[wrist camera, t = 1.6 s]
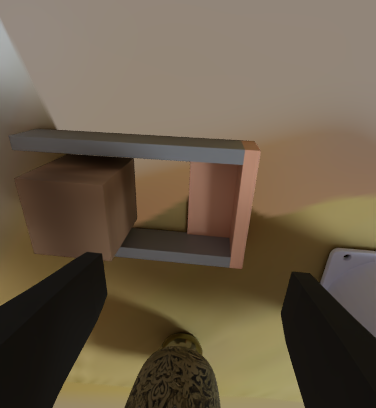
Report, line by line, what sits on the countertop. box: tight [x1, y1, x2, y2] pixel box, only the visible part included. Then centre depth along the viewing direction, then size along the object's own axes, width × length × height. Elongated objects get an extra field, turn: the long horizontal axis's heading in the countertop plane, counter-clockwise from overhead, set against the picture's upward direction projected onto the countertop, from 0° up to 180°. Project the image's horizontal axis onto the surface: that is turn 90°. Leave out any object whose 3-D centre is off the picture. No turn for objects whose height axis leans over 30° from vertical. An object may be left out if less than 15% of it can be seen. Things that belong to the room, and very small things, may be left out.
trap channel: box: [9, 129, 261, 269], centre depth 16 cm, size 14×8×2 cm, turn 88°
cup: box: [125, 333, 220, 408], centre depth 20 cm, size 8×7×8 cm
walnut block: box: [14, 154, 137, 261], centre depth 16 cm, size 4×4×5 cm
